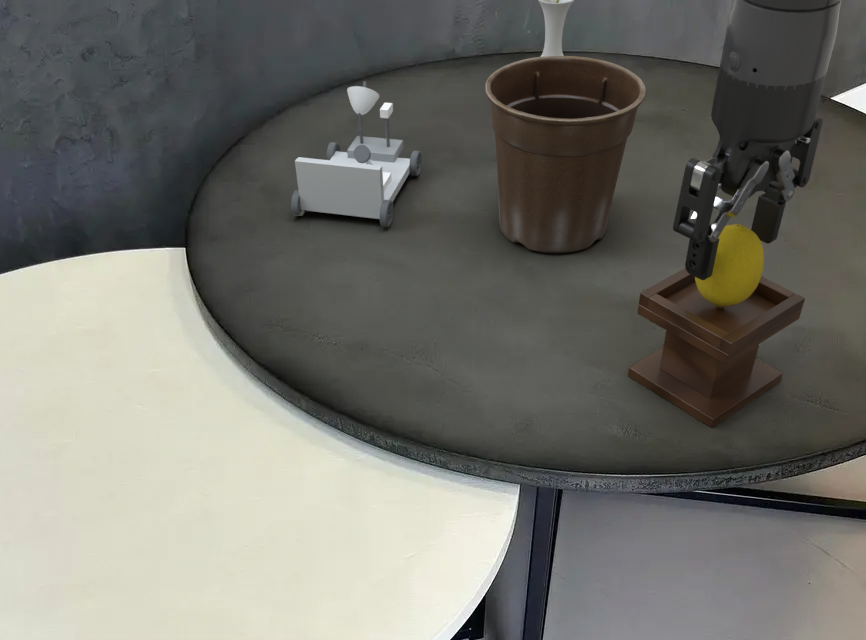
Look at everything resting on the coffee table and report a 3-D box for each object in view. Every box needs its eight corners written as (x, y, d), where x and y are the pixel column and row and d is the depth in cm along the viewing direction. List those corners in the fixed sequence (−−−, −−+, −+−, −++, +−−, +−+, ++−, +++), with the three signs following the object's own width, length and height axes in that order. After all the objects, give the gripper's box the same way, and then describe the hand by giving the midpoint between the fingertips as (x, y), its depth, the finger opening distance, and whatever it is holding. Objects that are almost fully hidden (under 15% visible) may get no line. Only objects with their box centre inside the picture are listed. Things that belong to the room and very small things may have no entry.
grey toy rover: (334, 74, 120) (426, 81, 118) (341, 151, 127) (428, 160, 125) (281, 140, 108) (382, 150, 106) (292, 221, 115) (387, 232, 113)
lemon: (676, 296, 88) (691, 214, 82) (732, 284, 89) (750, 203, 84) (707, 330, 84) (725, 247, 79) (764, 317, 86) (786, 235, 80)
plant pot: (598, 184, 119) (613, 46, 107) (648, 253, 108) (670, 107, 96) (467, 202, 117) (468, 63, 105) (504, 274, 106) (510, 128, 94)
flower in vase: (498, 91, 138) (504, -114, 120) (577, 82, 140) (594, -122, 122) (522, 131, 129) (532, -83, 111) (606, 122, 131) (629, -92, 113)
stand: (780, 381, 92) (805, 297, 85) (711, 428, 88) (731, 343, 81) (696, 334, 98) (713, 251, 91) (627, 375, 93) (640, 292, 87)
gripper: (754, 105, 67) (711, 308, 78) (877, 48, 73) (820, 244, 84) (669, 73, 71) (640, 269, 82) (791, 21, 77) (748, 211, 88)
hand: (731, 256), depth 83 cm, fingers open, 8 cm apart
